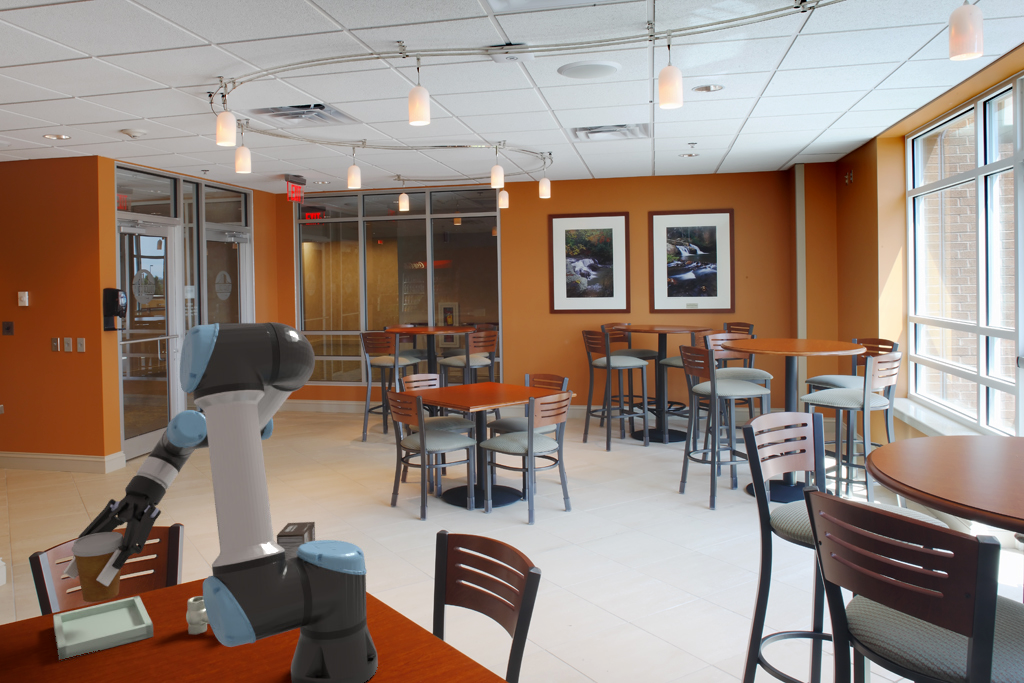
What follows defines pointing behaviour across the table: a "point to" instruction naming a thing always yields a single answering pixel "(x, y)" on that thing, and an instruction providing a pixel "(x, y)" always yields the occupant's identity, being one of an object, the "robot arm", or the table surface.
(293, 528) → the coffee box
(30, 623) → the table surface
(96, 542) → the disposable coffee cup
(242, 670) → the table surface
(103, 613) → the tray
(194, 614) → the valve
